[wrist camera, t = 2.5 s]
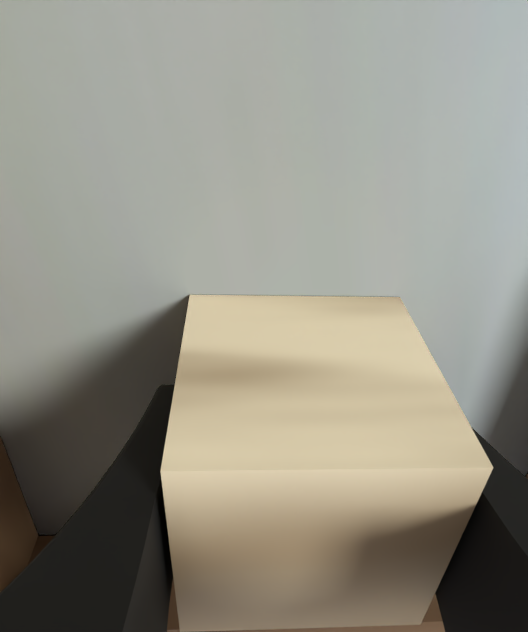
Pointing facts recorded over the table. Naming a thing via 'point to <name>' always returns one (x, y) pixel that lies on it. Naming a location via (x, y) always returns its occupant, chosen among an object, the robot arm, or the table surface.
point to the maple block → (312, 465)
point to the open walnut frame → (24, 545)
